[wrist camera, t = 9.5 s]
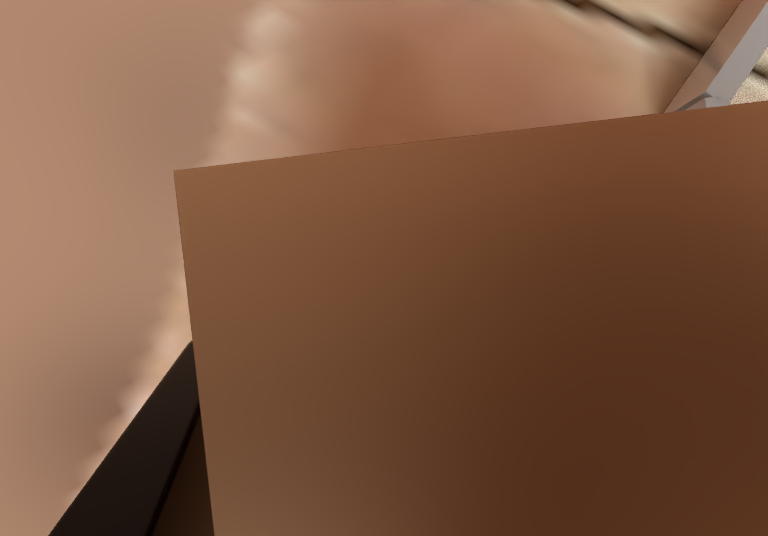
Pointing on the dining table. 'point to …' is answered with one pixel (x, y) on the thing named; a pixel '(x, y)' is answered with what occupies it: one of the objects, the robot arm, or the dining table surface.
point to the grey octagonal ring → (726, 60)
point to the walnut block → (488, 332)
